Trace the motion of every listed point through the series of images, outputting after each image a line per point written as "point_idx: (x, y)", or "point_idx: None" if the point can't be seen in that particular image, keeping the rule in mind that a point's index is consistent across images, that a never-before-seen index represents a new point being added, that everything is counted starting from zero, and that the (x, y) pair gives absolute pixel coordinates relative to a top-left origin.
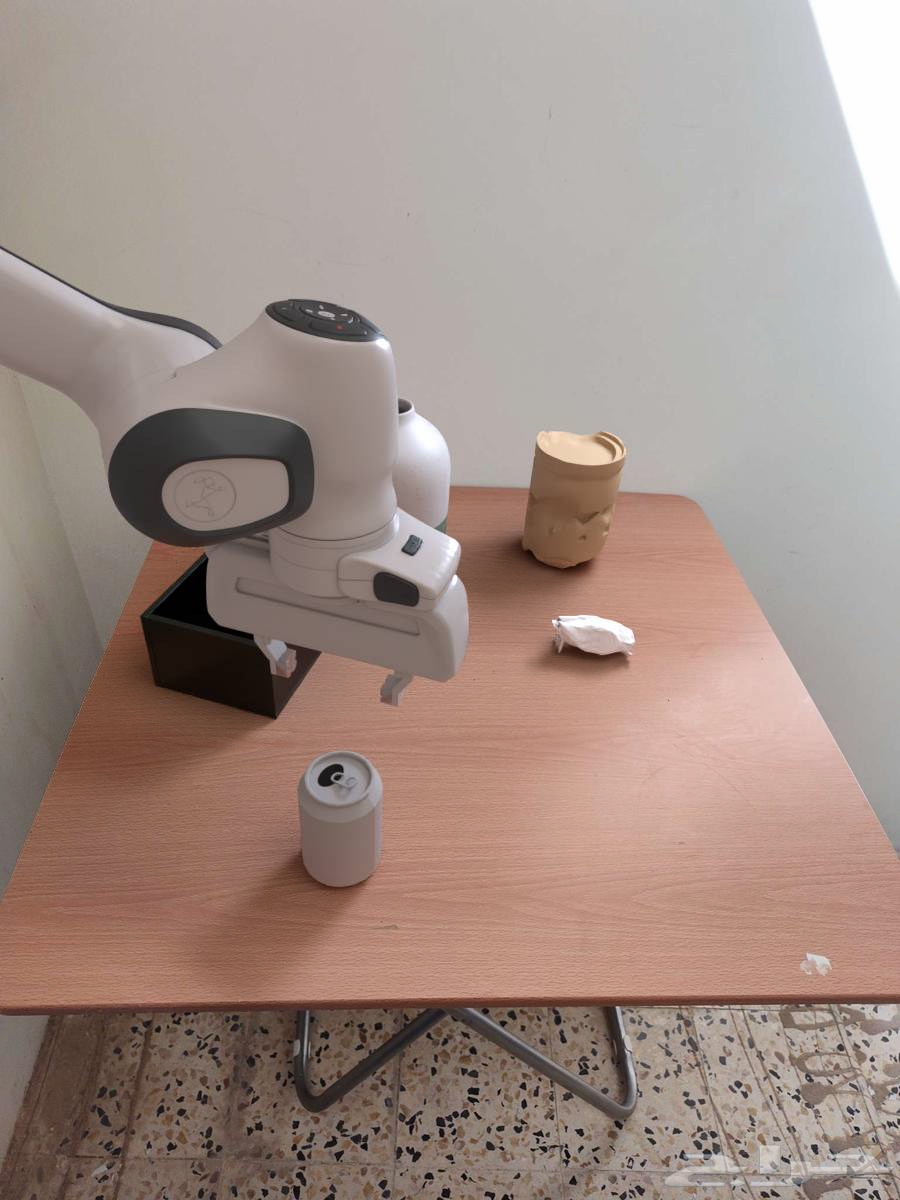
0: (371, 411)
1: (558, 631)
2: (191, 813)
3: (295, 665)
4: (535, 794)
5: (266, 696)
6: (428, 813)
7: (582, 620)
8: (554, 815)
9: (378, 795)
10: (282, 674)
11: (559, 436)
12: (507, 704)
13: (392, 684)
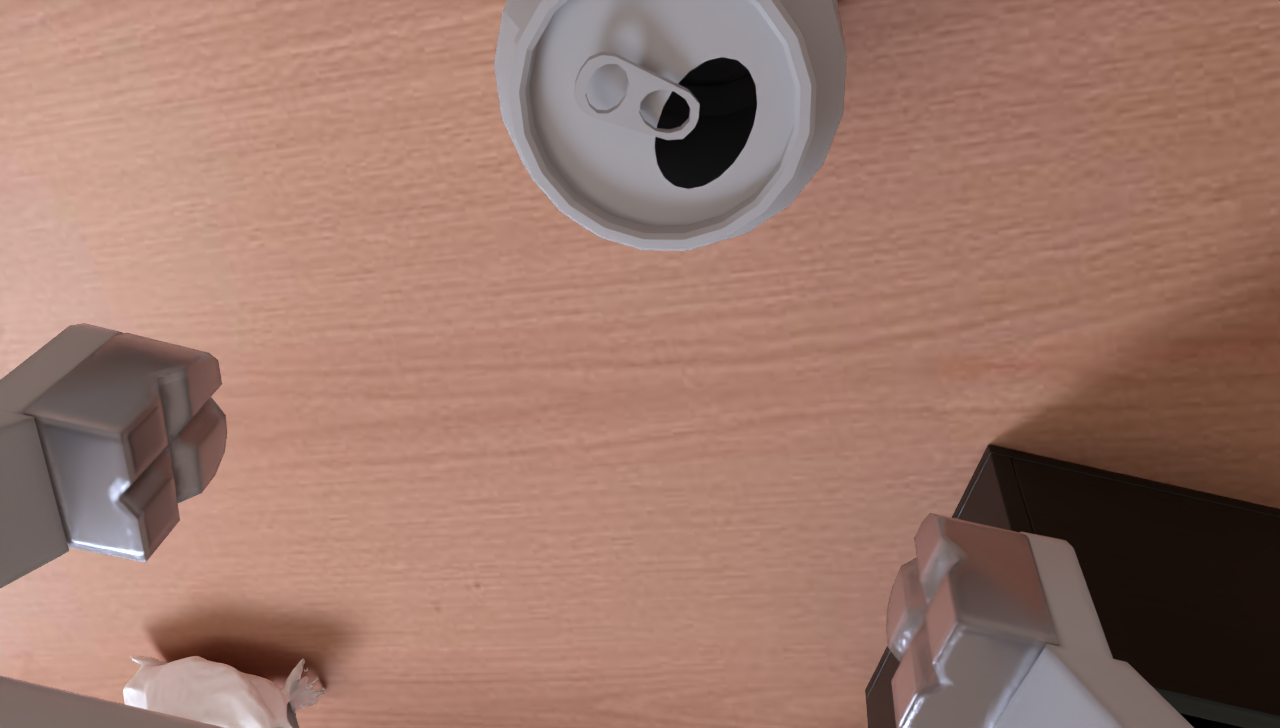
0: None
1: (282, 716)
2: (1236, 89)
3: (891, 610)
4: (233, 270)
5: (1029, 507)
6: (489, 178)
7: None
8: (166, 210)
9: (500, 65)
10: (978, 535)
11: None
12: (379, 522)
13: (58, 476)
